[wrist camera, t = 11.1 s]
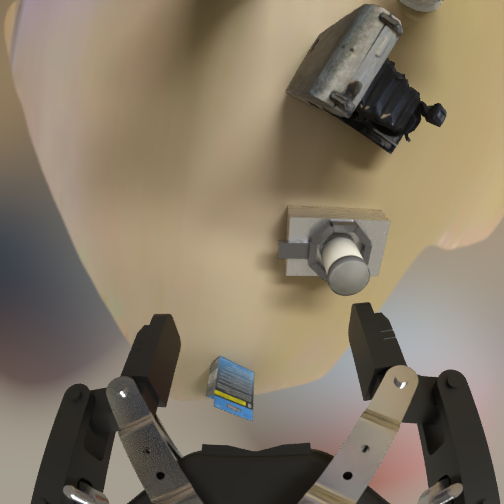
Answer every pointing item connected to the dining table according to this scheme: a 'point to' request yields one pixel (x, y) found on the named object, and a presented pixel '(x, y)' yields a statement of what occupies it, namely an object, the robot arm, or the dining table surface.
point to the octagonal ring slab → (324, 225)
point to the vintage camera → (363, 78)
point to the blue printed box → (231, 387)
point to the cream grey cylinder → (344, 265)
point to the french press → (422, 4)
